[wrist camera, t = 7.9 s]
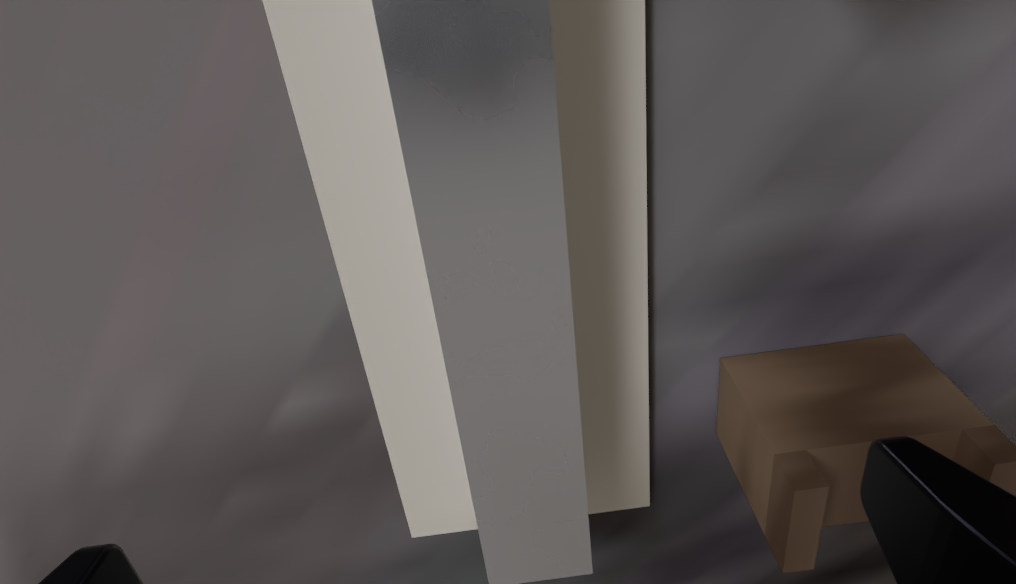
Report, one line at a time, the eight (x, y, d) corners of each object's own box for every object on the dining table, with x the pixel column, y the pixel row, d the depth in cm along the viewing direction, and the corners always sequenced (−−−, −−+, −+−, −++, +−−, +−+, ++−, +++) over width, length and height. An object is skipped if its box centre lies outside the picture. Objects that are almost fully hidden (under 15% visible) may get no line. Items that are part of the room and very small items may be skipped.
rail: (493, -461, 11) (506, -563, 8) (576, 494, 22) (592, 573, 20) (308, -436, 11) (264, -532, 8) (485, 506, 22) (489, 587, 20)
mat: (633, -557, 11) (638, -571, 11) (647, 496, 23) (650, 506, 23) (133, -490, 11) (122, -501, 11) (412, 527, 23) (412, 537, 23)
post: (903, 333, 20) (1029, 459, 16) (886, 410, 22) (996, 544, 18) (720, 358, 20) (794, 491, 16) (715, 433, 22) (782, 573, 18)
